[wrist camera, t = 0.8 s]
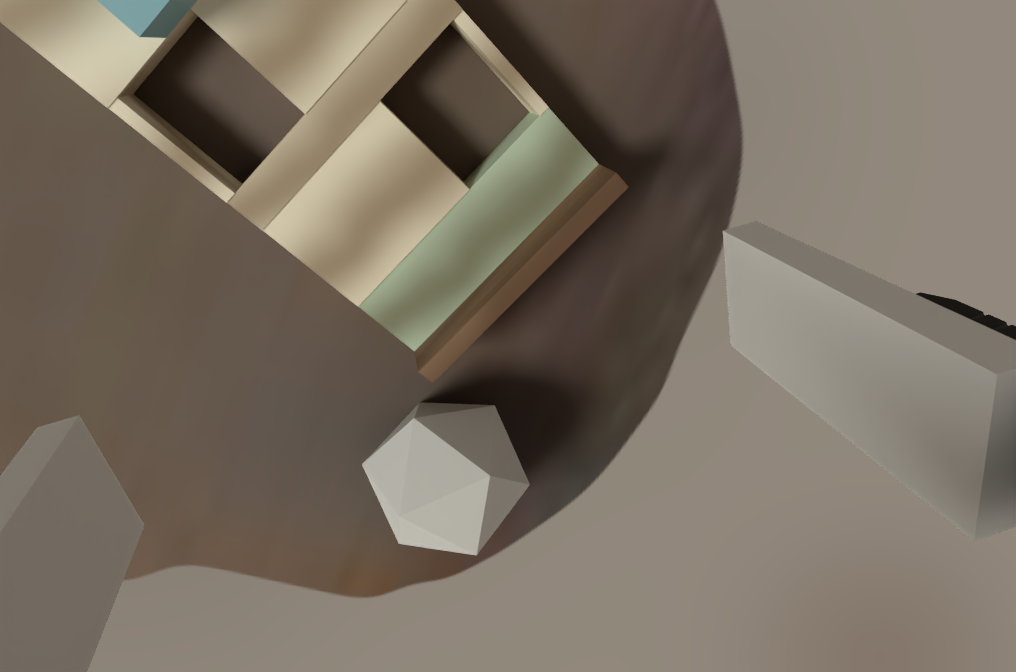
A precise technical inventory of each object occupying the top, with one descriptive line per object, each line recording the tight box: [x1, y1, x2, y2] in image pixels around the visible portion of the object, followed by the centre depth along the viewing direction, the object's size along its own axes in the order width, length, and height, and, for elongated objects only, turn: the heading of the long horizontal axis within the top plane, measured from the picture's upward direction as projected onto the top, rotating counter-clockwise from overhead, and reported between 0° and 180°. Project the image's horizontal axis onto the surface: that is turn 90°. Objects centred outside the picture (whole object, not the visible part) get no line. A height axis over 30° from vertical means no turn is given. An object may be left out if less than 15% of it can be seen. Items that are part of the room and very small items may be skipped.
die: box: [362, 402, 530, 555], centre depth 39 cm, size 8×9×10 cm
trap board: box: [0, 0, 628, 383], centre depth 31 cm, size 28×14×5 cm, turn 44°
